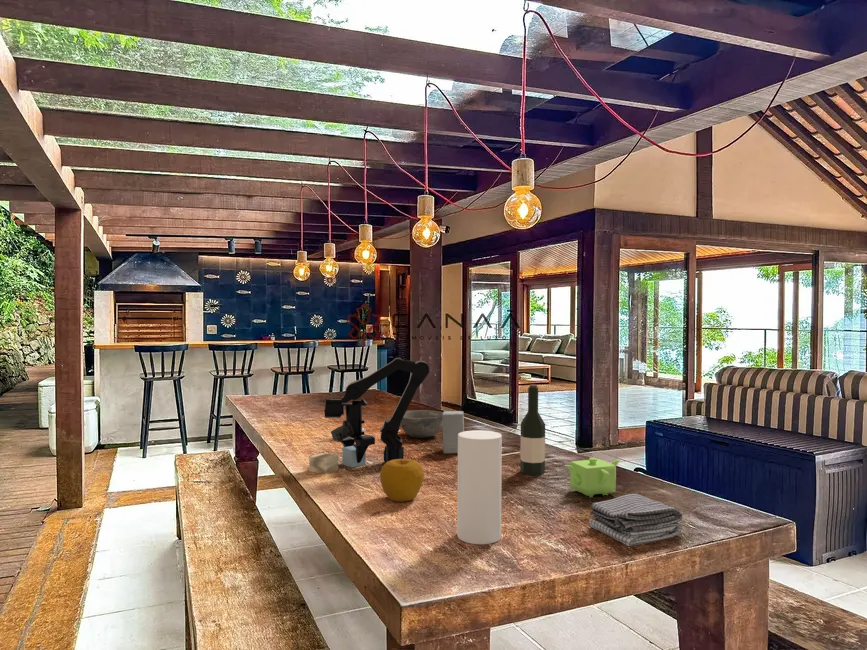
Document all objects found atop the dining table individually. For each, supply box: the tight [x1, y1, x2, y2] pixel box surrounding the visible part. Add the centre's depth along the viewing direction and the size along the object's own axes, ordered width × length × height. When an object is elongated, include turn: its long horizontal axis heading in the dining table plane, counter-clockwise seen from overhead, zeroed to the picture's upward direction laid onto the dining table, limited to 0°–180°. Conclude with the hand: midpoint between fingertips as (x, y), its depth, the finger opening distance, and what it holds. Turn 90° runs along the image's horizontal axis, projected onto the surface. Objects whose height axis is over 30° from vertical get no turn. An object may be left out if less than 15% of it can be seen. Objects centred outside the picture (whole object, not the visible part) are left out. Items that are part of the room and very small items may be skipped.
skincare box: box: [442, 410, 465, 454], centre depth 232 cm, size 8×7×16 cm
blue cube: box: [341, 446, 367, 468], centre depth 213 cm, size 6×6×6 cm
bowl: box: [400, 409, 443, 439], centre depth 262 cm, size 21×21×10 cm
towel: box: [588, 493, 683, 547], centre depth 149 cm, size 15×18×8 cm
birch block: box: [308, 452, 339, 475], centre depth 205 cm, size 7×7×5 cm
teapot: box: [564, 457, 621, 498], centre depth 181 cm, size 15×13×11 cm
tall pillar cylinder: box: [456, 429, 503, 545], centre depth 145 cm, size 11×11×25 cm
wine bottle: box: [519, 384, 546, 476], centre depth 204 cm, size 8×8×30 cm
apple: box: [379, 458, 425, 503], centre depth 174 cm, size 13×13×11 cm
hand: (353, 460), depth 213 cm, fingers closed on blue cube, 6 cm apart
